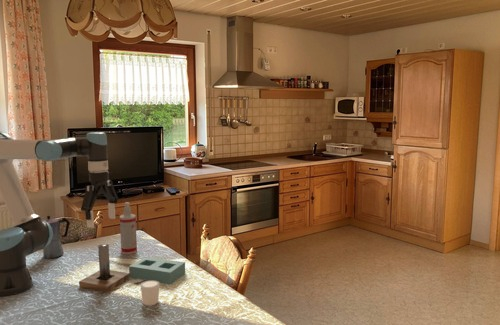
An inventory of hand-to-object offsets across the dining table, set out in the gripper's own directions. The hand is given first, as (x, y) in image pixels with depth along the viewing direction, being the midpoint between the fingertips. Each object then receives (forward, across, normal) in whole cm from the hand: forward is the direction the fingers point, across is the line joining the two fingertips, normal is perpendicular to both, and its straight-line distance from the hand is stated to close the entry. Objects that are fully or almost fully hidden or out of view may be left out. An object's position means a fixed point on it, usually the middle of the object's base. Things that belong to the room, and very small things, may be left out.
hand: (101, 222), depth 171 cm
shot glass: (+25, -10, -28) cm, 39 cm away
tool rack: (+25, +12, -18) cm, 33 cm away
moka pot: (+25, +18, +43) cm, 53 cm away
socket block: (+25, -1, -1) cm, 25 cm away
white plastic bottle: (+25, +34, +12) cm, 44 cm away
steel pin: (+25, -1, -1) cm, 25 cm away
